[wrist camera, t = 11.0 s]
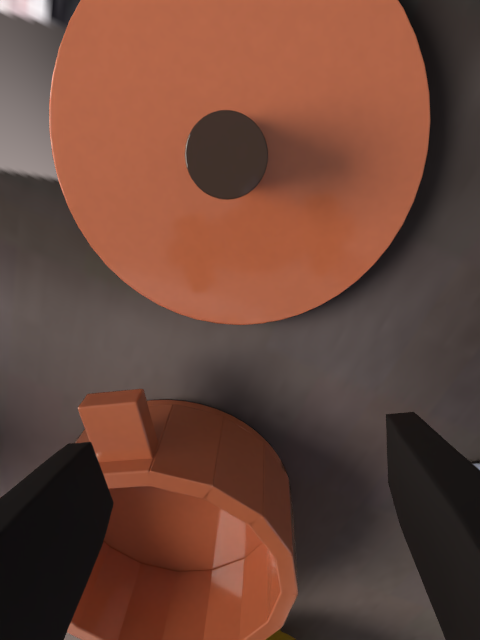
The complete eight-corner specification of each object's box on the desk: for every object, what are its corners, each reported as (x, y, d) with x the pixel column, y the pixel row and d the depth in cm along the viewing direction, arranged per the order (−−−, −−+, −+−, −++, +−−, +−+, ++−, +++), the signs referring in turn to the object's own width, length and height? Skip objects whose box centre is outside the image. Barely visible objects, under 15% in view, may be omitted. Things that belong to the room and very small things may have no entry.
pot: (270, 338, 19) (271, 401, 14) (304, 596, 26) (312, 693, 21) (15, 365, 21) (-57, 430, 16) (112, 602, 27) (81, 695, 23)
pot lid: (424, -123, 13) (500, -250, 9) (417, 296, 18) (462, 343, 14) (9, -29, 14) (-96, -98, 10) (115, 330, 19) (73, 382, 15)
